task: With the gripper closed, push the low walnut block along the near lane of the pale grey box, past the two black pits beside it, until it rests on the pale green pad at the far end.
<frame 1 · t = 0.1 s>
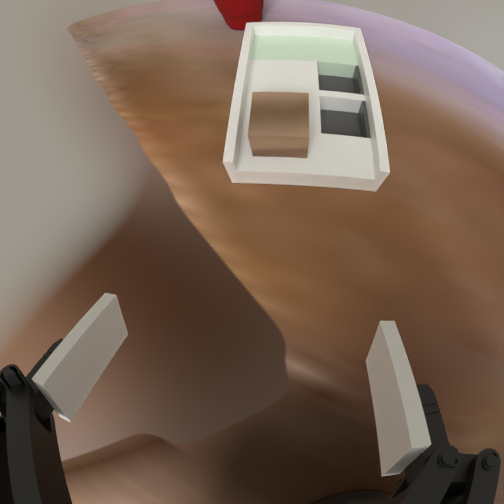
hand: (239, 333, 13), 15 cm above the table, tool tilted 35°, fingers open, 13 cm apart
plastic cup: (243, 22, 37), on the table
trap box: (305, 101, 32), on the table
walnut block: (280, 134, 28), point 3 cm above the table, touching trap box
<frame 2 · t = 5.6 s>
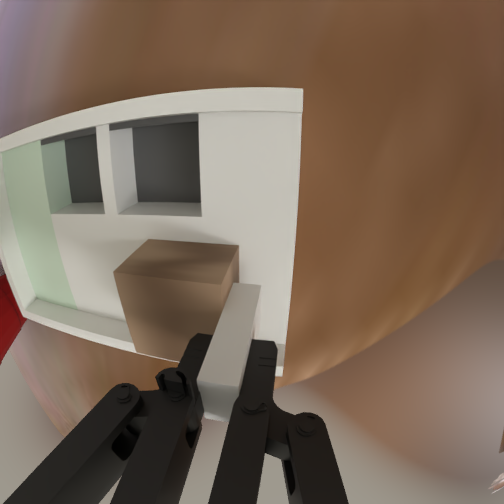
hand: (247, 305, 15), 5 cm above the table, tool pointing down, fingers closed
plastic cup: (20, 292, 27), on the table
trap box: (126, 220, 19), on the table
walnut block: (194, 283, 17), point 3 cm above the table
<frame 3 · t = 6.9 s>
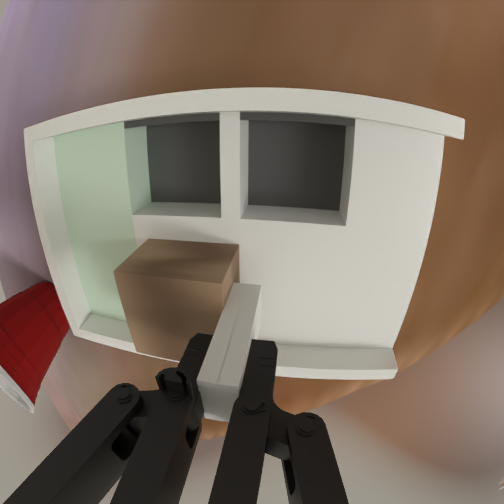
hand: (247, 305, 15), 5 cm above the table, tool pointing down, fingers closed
plastic cup: (56, 303, 26), on the table
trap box: (225, 224, 18), on the table
walnut block: (195, 282, 17), point 3 cm above the table, touching gripper
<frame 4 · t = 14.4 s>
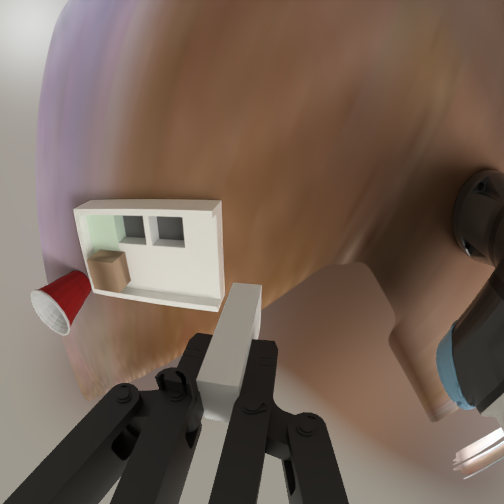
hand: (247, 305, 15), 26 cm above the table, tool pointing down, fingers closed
plastic cup: (81, 282, 53), on the table
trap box: (153, 245, 46), on the table
walnut block: (115, 265, 45), point 3 cm above the table, touching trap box
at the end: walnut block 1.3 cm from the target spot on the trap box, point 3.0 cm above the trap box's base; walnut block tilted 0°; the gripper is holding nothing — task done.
